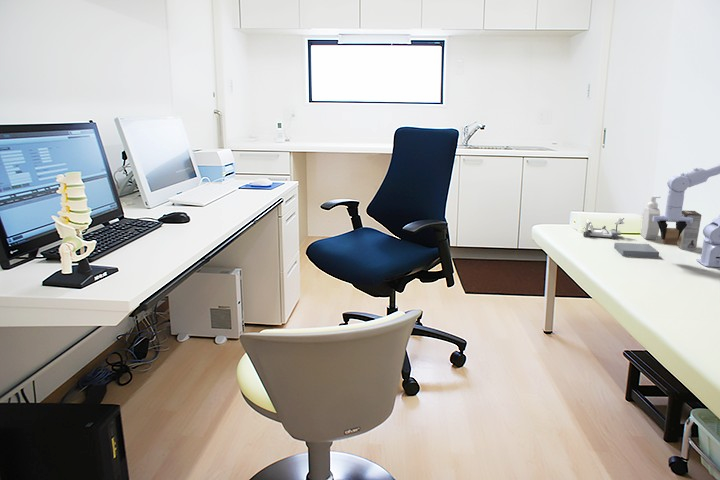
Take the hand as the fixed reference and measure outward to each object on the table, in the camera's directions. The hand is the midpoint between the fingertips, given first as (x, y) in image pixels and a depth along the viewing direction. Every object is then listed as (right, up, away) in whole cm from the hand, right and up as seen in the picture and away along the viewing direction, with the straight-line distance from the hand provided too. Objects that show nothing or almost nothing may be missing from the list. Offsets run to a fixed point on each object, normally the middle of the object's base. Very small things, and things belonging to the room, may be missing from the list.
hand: (669, 239), depth 229 cm
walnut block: (0, -2, 0) cm, 2 cm away
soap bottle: (+14, +1, +43) cm, 45 cm away
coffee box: (+20, -4, +24) cm, 32 cm away
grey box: (-7, -6, +14) cm, 17 cm away
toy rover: (-8, +1, +45) cm, 46 cm away
